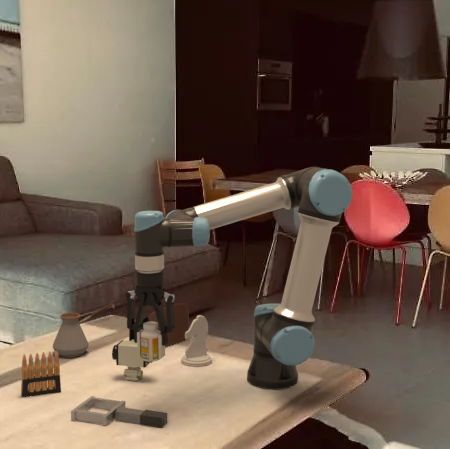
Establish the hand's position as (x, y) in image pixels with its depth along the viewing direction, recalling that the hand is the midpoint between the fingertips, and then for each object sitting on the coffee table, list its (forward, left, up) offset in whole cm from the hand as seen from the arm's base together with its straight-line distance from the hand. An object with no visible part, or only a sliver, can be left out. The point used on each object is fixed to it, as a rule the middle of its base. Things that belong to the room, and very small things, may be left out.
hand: (151, 355), depth 200 cm
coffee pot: (+39, -36, -14) cm, 55 cm away
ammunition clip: (+32, +2, -14) cm, 35 cm away
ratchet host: (+4, +10, -14) cm, 18 cm away
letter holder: (+20, -52, -15) cm, 58 cm away
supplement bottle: (0, 0, -1) cm, 1 cm away
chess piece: (+1, -39, -14) cm, 41 cm away
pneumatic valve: (+13, -18, -14) cm, 26 cm away
